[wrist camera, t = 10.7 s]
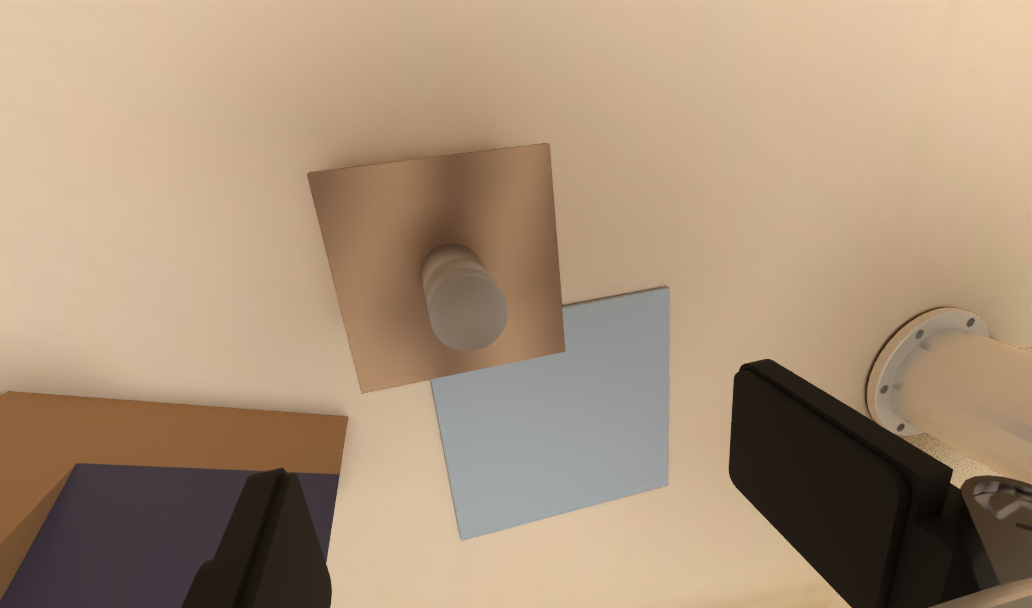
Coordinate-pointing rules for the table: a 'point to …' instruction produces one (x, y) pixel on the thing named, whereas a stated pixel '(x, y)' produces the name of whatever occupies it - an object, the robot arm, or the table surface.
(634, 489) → the mat
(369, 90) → the table surface
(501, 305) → the lid
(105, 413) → the toy building blocks
